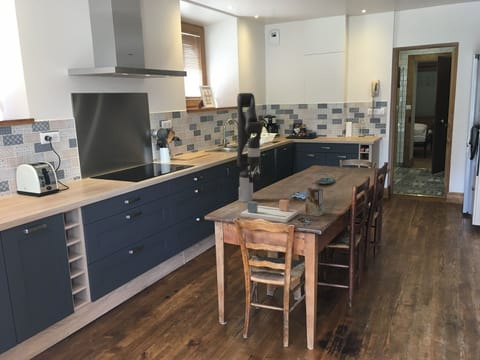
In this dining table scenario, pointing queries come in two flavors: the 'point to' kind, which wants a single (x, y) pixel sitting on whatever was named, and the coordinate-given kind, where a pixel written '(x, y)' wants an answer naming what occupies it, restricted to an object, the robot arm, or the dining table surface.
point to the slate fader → (252, 207)
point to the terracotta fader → (284, 205)
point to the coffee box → (314, 201)
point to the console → (271, 214)
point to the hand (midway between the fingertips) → (254, 181)
